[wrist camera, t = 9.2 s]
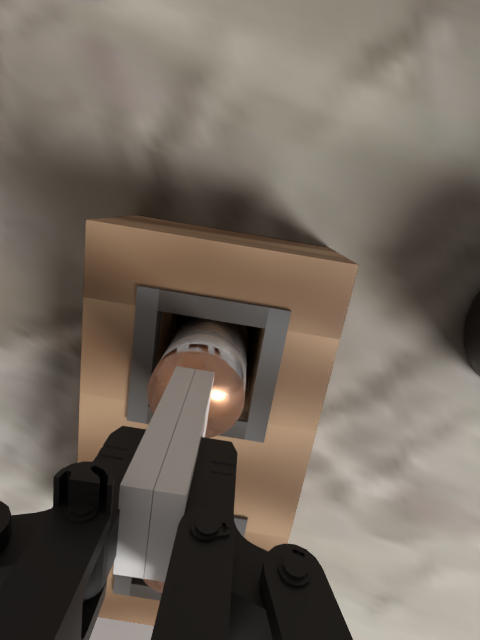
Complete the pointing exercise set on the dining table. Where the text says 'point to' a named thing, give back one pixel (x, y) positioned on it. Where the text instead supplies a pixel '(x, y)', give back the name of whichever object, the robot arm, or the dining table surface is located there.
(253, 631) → the robot arm
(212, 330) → the peg
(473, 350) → the mug
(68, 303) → the dining table surface
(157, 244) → the socket block
